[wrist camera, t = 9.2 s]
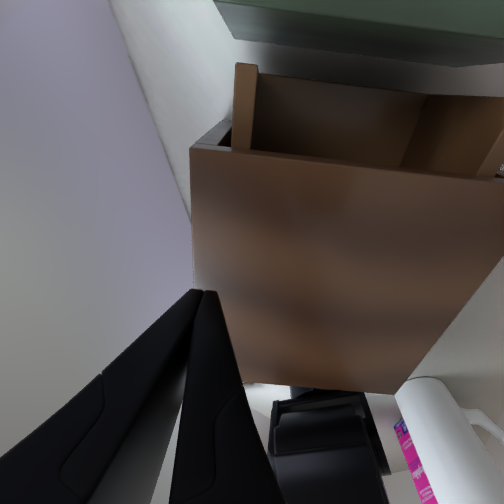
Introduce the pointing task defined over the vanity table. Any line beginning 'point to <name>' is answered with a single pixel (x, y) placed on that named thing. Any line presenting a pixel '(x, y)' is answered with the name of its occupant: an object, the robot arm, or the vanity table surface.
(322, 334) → the cabinet
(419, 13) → the drawer
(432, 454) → the mug
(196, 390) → the robot arm
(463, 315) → the vanity table surface
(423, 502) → the supplement box
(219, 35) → the vanity table surface
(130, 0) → the vanity table surface
